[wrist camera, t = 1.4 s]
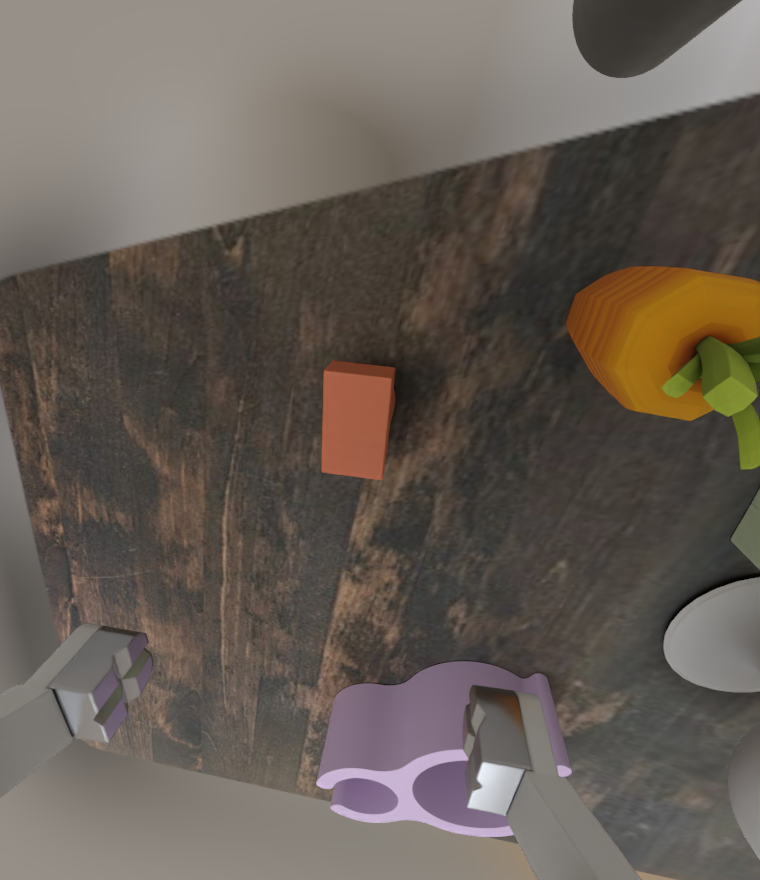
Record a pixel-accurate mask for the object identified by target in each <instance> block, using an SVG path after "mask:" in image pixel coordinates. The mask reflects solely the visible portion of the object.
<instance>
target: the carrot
mask: <svg viewBox="0 0 760 880" xmlns="http://www.w3.org/2000/svg"><path fill="white" fill-rule="evenodd" d="M566 326H567V329H568V332H569V334H570V336H571V338H572V340H573V341H574V343H575V345H576V347H577V349H578V350H579V352H580V354H581V356H582V358H583V359H584V361H585V363H586V365H587V367H588V368H589V370H590V372H591V373H592V375H593V376H594V377H595V378H596V379H597V380H598V381H599V382H600V383H601V384H602V386H603V387H604V388H605V389H606V390H607V391H608V392H609V393H610V394H611V395H612V396H613V397H614V398H616V399H617V400H618V401H619V402H620V403H621V404H622V405H623V406H624V407H626V408H627V409H629V410H633V411H638V412H643V413H649V414H655V415H660V416H666V417H671V418H677V419H683V420H688V421H692V420H694V419H696V418H698V417H700V416H702V415H704V414H706V413H708V412H710V411H712V410H716V411H718V412H720V413H722V414H724V415H725V416H727V417H728V416H731V415H732V418H733V421H734V424H735V428H736V432H737V435H738V444H739V457H740V465H741V469H754V468H756V467H758V466H760V420H759V418H758V416H757V413H756V411H755V409H754V408H753V406H752V404H751V402H753V401H754V400H755V399H756V398H757V397H758V394H757V389H756V382H759V383H760V283H759V282H758V281H756V280H752V279H749V278H743V277H737V276H731V275H725V274H718V273H712V272H706V271H700V270H694V269H688V268H675V267H658V266H642V267H629V268H625V269H622V270H618V271H615V272H613V273H610V274H607V275H605V276H603V277H601V278H600V279H598V280H597V281H595V282H594V283H592V284H591V285H589V286H587V287H586V288H584V289H583V290H581V291H580V292H578V293H576V295H575V298H574V300H573V303H572V306H571V309H570V312H569V315H568V318H567V321H566Z"/></svg>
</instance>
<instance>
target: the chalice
mask: <svg viewBox="0 0 760 880" xmlns="http://www.w3.org/2000/svg"><path fill="white" fill-rule="evenodd" d="M663 648H664V653H665V658H666V660H667V661H668V663H669V664H670V666H671V667H672V669H673V670H674V671H676V672H677V673H678V674H679V675H680V676H681V677H683V678H685V679H687V680H689V681H690V682H692V683H694V684H697V685H700V686H703V687H707V688H710V689H714V690H719V691H727V692H758V691H760V577H757V578H752V579H747V580H741V581H737V582H734V583H731V584H728V585H725V586H722V587H719V588H716V589H714V590H712V591H710V592H708V593H706V594H704V595H702V596H700V597H698V598H697V599H695V600H694V601H693V602H691V603H690V604H689V605H687V606H686V607H685V608H683V609H682V610H681V611H680V612H679V614H678V615H677V616H676V617H675V618H674V619H673V620H672V621H671V623H670V625H669V627H668V629H667V631H666V633H665V638H664V644H663ZM727 785H728V790H729V796H730V802H731V805H732V809H733V812H734V816H735V818H736V820H737V822H738V824H739V826H740V828H741V830H742V832H743V834H744V836H745V838H746V839H747V841H748V843H749V844H750V846H751V847H752V849H753V850H754V852H755V853H756V855H757V856H758V858H759V860H760V722H758V723H757V724H756V725H755V726H753V727H752V728H751V729H750V730H749V731H748V733H747V734H746V735H745V736H744V737H743V739H742V740H741V741H740V743H739V744H738V746H737V747H736V749H735V750H734V752H733V755H732V758H731V761H730V765H729V771H728V778H727Z"/></svg>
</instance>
